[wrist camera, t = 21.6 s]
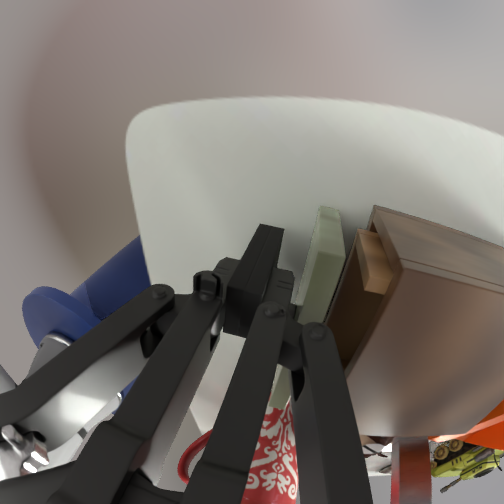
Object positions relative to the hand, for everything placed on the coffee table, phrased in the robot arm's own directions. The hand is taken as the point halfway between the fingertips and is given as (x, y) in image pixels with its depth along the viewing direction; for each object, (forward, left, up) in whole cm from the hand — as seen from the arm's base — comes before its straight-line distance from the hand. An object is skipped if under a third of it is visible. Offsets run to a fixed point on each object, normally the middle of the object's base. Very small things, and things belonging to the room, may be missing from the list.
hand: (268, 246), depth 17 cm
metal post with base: (+23, -23, -1) cm, 33 cm away
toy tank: (+38, -25, -2) cm, 45 cm away
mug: (+2, -21, -2) cm, 21 cm away
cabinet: (+13, -3, -2) cm, 14 cm away
